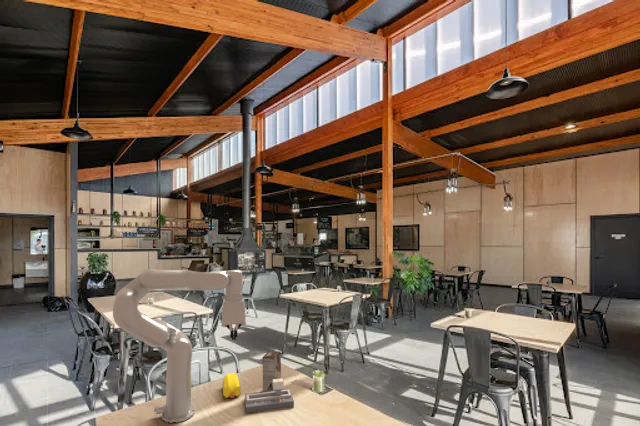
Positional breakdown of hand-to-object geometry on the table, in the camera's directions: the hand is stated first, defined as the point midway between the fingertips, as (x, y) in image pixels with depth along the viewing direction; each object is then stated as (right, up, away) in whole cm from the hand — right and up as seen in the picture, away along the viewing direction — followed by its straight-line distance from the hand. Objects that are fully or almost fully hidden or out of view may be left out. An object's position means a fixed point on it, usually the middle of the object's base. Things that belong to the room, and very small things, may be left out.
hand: (233, 339), depth 155 cm
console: (+16, -27, -3) cm, 31 cm away
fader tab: (+20, -24, -2) cm, 31 cm away
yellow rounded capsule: (-3, -28, +8) cm, 30 cm away
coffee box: (+16, -28, +11) cm, 34 cm away
